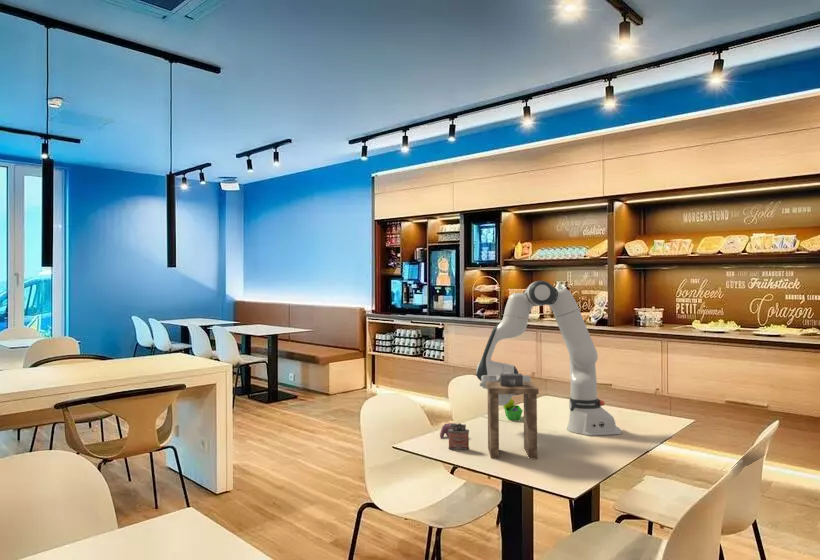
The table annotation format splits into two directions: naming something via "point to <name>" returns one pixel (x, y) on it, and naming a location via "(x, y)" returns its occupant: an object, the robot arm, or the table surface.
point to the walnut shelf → (529, 416)
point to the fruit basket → (512, 411)
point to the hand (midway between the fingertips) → (507, 374)
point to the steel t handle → (511, 379)
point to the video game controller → (446, 429)
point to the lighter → (458, 437)
